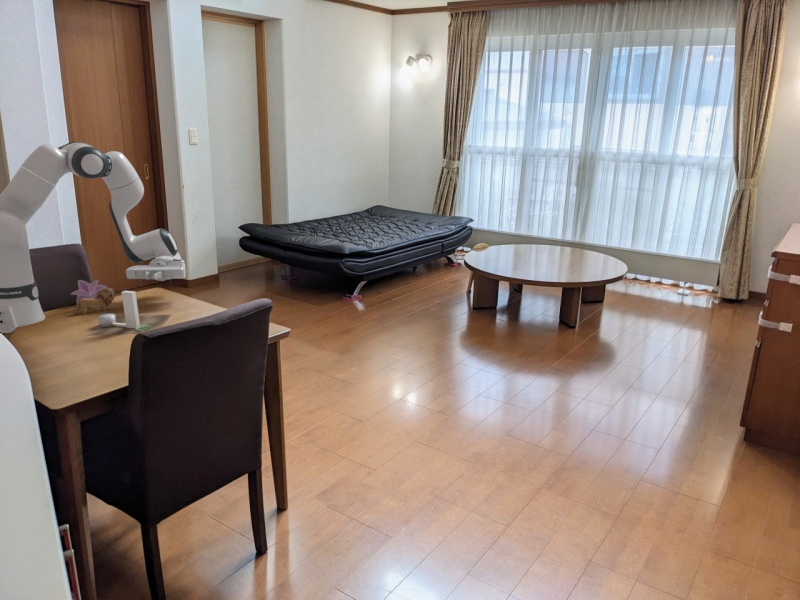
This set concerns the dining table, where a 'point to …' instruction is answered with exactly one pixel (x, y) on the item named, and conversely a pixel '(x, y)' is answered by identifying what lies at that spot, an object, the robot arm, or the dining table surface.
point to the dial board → (145, 324)
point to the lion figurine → (96, 301)
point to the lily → (87, 289)
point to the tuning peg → (129, 311)
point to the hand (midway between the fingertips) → (150, 277)
